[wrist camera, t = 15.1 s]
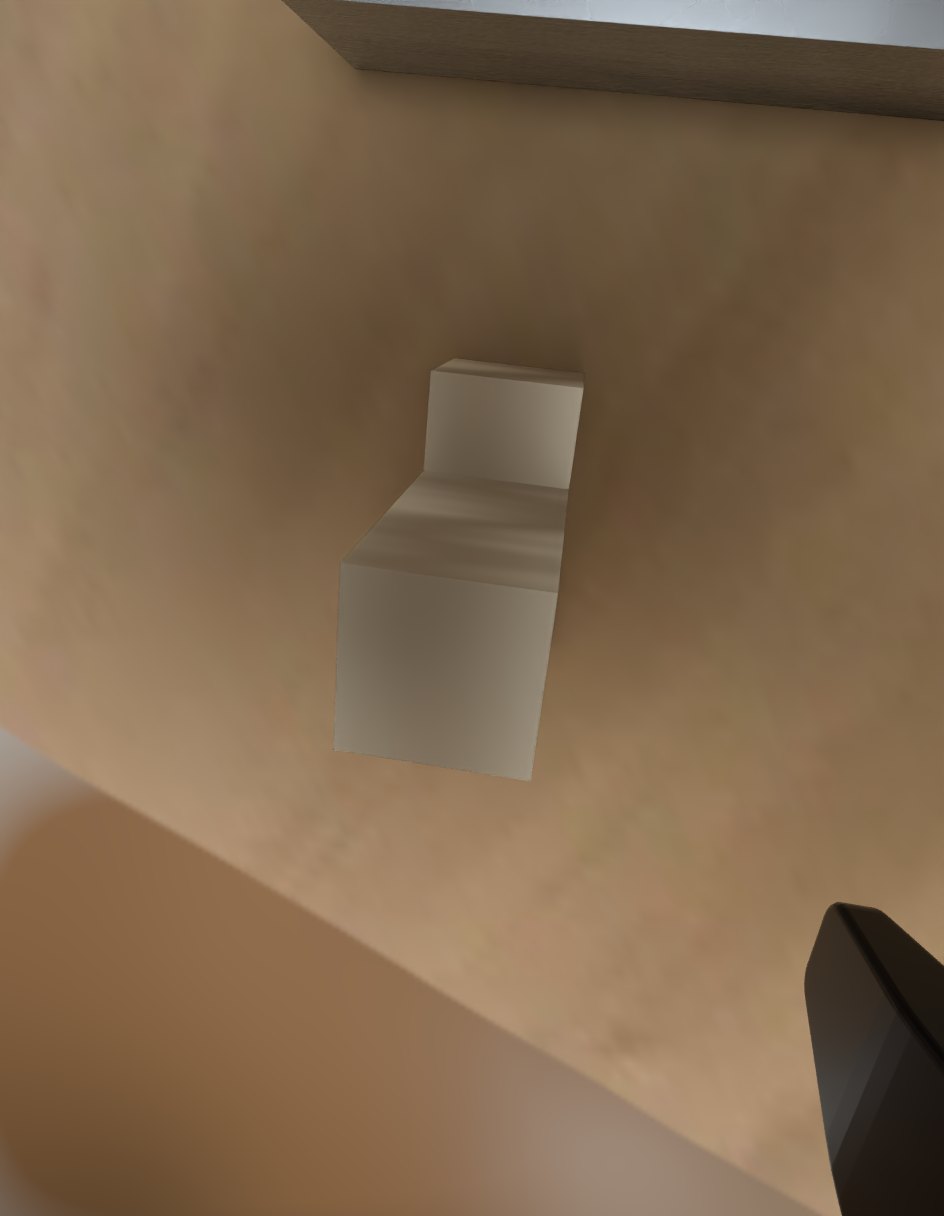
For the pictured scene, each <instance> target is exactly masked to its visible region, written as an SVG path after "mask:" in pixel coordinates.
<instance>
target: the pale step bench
mask: <svg viewBox="0 0 944 1216" xmlns="http://www.w3.org/2000/svg"><path fill="white" fill-rule="evenodd" d="M583 389H584V373H579V372H571V371H562V370H553V369H544V368H536V367H527V366H518V365H509V364H501V363H492V362H483V361H474V360H465V359H457V358H454V359H452V360H450V361H448V362H446V363H444V364H442V365H441V366H439V367H437V368H435V369H433V370H431V376H430V390H429V403H428V417H427V430H426V444H425V457H424V471H423V472H422V473H421V474H420V475H419V476H418V478H417V479H416V480H415V481H414V482H413V483H412V484H411V485H410V486H409V487H408V489H407V490H406V491H405V492H404V493H403V494H402V495H401V496H400V497H399V499H398V500H397V501H396V502H395V503H394V504H393V505H392V506H391V507H390V508H389V510H388V511H387V512H386V513H385V514H384V515H383V516H382V517H381V518H380V519H379V521H378V522H377V523H376V524H375V525H374V526H373V527H372V528H371V529H370V531H369V532H368V533H367V534H366V535H365V536H364V537H363V538H362V539H361V540H360V542H359V543H358V544H357V545H356V546H355V547H354V548H353V549H352V550H351V552H350V553H349V554H348V555H347V556H346V557H345V558H344V559H343V560H342V561H341V563H340V580H339V608H338V636H337V664H336V693H335V721H334V749H333V750H338V751H345V752H351V753H357V754H363V755H370V756H376V757H382V758H388V759H395V760H401V761H407V762H413V763H420V764H426V765H432V766H438V767H445V768H451V769H457V770H463V771H470V772H476V773H482V774H488V775H495V776H501V777H507V778H513V779H520V780H526V781H531V774H532V767H533V761H534V754H535V747H536V740H537V734H538V727H539V720H540V713H541V707H542V700H543V693H544V686H545V679H546V673H547V666H548V659H549V652H550V646H551V639H552V632H553V625H554V619H555V612H556V605H557V598H558V591H559V581H560V571H561V561H562V552H563V542H564V532H565V522H566V512H567V502H568V493H569V485H570V478H571V471H572V464H573V457H574V450H575V444H576V437H577V430H578V423H579V416H580V409H581V402H582V395H583Z"/></svg>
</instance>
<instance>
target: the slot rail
mask: <svg viewBox="0 0 944 1216" xmlns="http://www.w3.org/2000/svg"><path fill="white" fill-rule="evenodd" d="M282 1H283V2H284V3H285V4H286V5H288V6H289V7H290V8H291V9H292V10H293V11H294V12H295V13H296V14H297V15H298V16H299V17H300V18H301V19H302V20H304V21H305V22H306V23H307V24H308V25H309V26H310V27H311V28H312V29H313V30H314V31H315V32H316V33H317V34H319V35H320V36H321V37H322V38H323V39H324V40H325V41H326V42H327V43H328V44H329V45H330V46H331V47H332V48H333V49H335V50H336V51H337V52H338V53H339V54H340V55H341V56H342V57H343V58H344V59H345V60H346V61H347V62H348V63H349V64H351V65H352V66H353V67H354V68H356V69H367V70H378V71H389V72H401V73H412V74H423V75H435V76H446V77H457V78H468V79H480V80H491V81H502V82H514V83H525V84H536V85H547V86H559V87H570V88H581V89H593V90H604V91H615V92H626V93H638V94H649V95H660V96H672V97H683V98H694V99H705V100H717V101H728V102H739V103H750V104H762V105H773V106H784V107H796V108H807V109H818V110H829V111H841V112H852V113H863V114H875V115H886V116H897V117H908V118H920V119H931V120H942V121H944V0H282Z"/></svg>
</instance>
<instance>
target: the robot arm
mask: <svg viewBox="0 0 944 1216" xmlns="http://www.w3.org/2000/svg"><path fill="white" fill-rule="evenodd" d="M804 989H805V1000H806V1006H807V1013H808V1020H809V1027H810V1034H811V1041H812V1048H813V1054H814V1061H815V1068H816V1075H817V1082H818V1089H819V1095H820V1102H821V1109H822V1116H823V1123H824V1130H825V1137H826V1143H827V1149H828V1155H829V1160H830V1166H831V1171H832V1176H833V1180H834V1185H835V1189H836V1193H837V1198H838V1202H839V1206H840V1210H841V1214H842V1216H944V966H943V965H942V964H941V963H940V962H939V961H938V960H937V959H936V958H934V957H933V956H932V955H931V954H930V953H929V952H928V951H927V950H925V949H924V948H923V947H922V946H921V945H920V944H919V943H918V942H916V941H915V940H914V939H913V938H912V937H911V936H910V935H909V934H907V933H906V932H905V931H904V930H903V929H902V928H901V927H900V926H899V925H897V924H896V923H895V922H894V921H893V920H892V919H891V918H890V917H888V916H887V915H886V914H885V913H883V912H882V911H880V910H878V909H876V908H872V907H866V906H860V905H854V904H848V903H842V902H837V903H834V904H832V905H830V907H829V908H828V909H827V911H826V913H825V915H824V918H823V921H822V924H821V927H820V929H819V932H818V935H817V938H816V941H815V944H814V947H813V950H812V952H811V955H810V958H809V961H808V964H807V967H806V972H805V982H804Z"/></svg>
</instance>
